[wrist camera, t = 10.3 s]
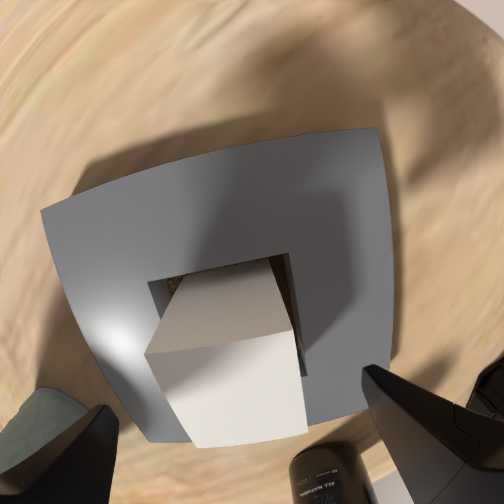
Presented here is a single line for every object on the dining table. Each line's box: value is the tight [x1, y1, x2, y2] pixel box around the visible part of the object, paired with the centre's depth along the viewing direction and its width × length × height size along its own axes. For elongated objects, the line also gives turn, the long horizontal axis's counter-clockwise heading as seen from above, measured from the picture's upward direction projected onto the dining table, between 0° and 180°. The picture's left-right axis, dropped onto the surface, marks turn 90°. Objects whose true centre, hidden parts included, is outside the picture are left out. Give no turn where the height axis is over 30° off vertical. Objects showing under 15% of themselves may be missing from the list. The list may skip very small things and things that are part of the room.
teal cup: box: [0, 387, 89, 474], centre depth 11 cm, size 10×10×12 cm
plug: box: [144, 258, 308, 448], centre depth 11 cm, size 4×5×7 cm
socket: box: [40, 128, 394, 443], centre depth 13 cm, size 16×16×2 cm
